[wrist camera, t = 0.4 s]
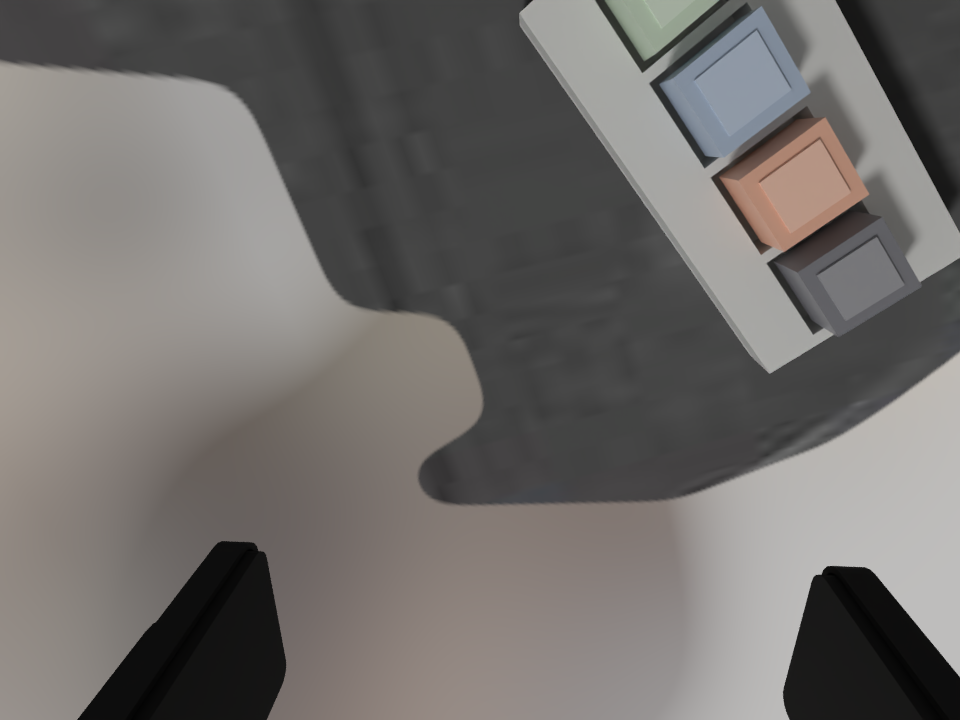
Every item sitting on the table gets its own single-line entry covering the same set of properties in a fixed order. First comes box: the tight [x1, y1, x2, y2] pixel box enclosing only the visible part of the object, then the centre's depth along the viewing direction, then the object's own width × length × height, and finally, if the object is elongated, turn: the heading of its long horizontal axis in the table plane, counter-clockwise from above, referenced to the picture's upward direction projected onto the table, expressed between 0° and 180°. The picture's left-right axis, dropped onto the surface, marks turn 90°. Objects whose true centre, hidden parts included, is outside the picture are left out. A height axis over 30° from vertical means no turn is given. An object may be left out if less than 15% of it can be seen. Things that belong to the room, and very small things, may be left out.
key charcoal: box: [774, 210, 922, 337], centre depth 30 cm, size 5×5×3 cm
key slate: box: [659, 6, 811, 158], centre depth 28 cm, size 5×5×3 cm
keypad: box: [519, 0, 960, 374], centre depth 31 cm, size 12×25×3 cm, turn 39°
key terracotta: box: [719, 117, 870, 252], centre depth 29 cm, size 5×5×3 cm
